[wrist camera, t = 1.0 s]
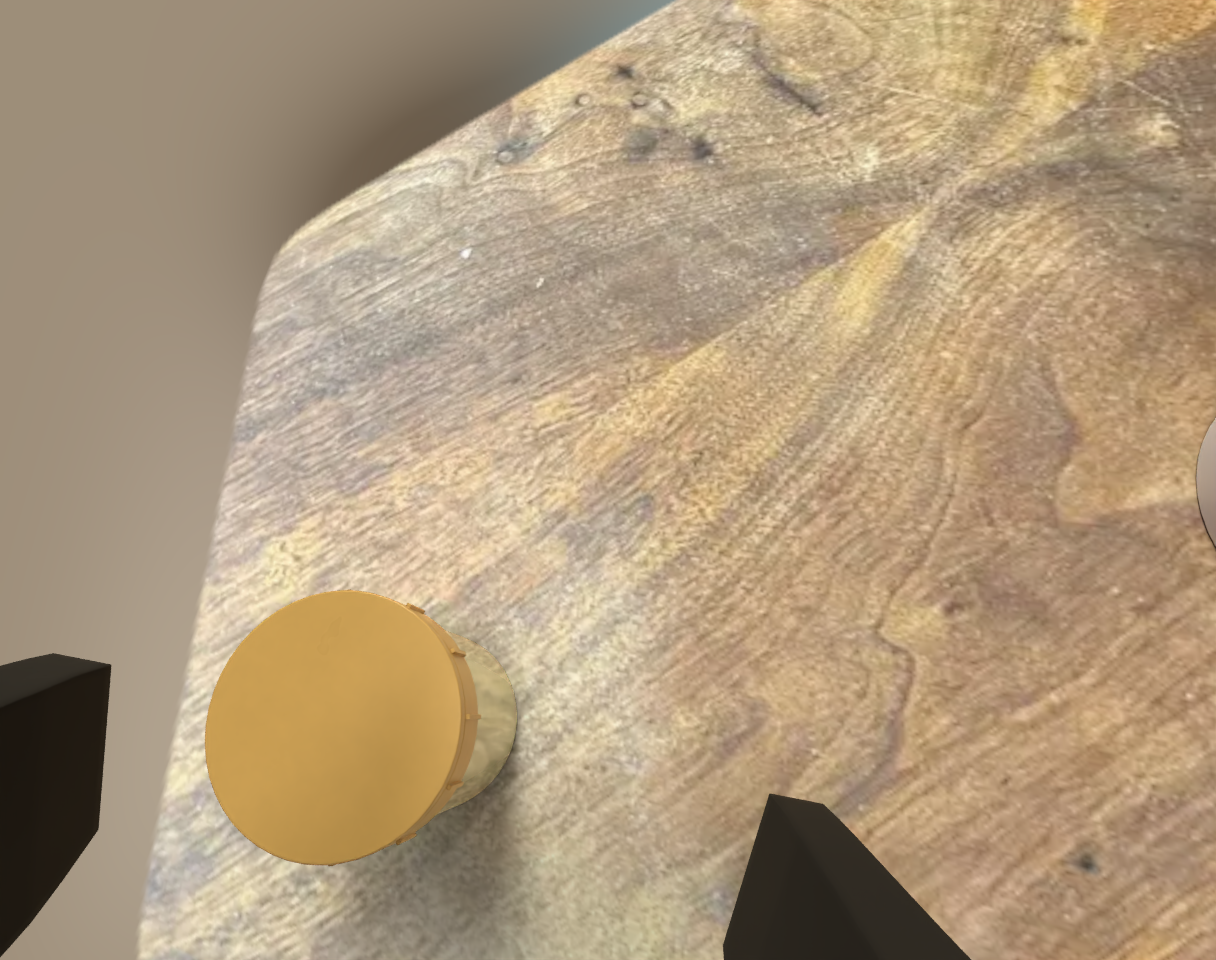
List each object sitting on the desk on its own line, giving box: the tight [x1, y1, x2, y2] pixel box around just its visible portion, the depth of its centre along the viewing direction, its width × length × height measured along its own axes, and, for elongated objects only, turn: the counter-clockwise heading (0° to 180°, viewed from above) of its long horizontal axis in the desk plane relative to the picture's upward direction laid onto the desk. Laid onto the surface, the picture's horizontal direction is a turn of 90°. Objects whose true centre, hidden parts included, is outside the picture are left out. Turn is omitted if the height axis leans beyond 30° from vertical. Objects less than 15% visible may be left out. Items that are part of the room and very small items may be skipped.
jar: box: [436, 630, 517, 815], centre depth 21 cm, size 5×5×7 cm
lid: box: [205, 590, 481, 866], centre depth 18 cm, size 6×6×2 cm
